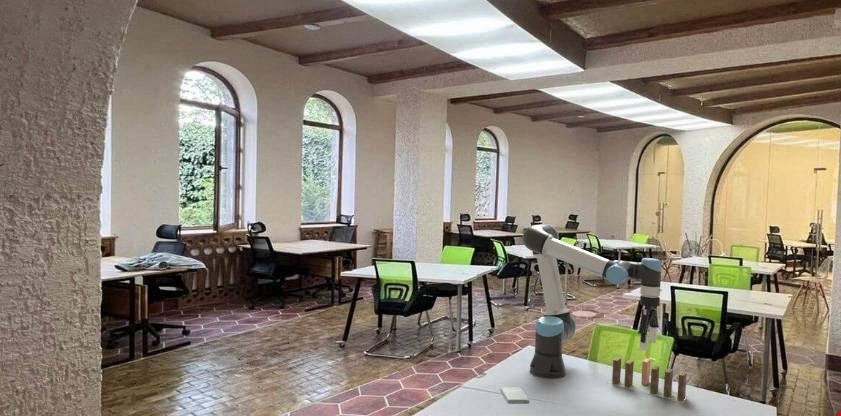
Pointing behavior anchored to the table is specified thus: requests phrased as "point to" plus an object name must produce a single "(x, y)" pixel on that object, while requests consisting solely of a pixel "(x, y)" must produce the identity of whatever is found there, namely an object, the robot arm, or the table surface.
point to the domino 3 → (645, 371)
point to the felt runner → (647, 390)
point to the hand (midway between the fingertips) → (647, 346)
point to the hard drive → (514, 394)
